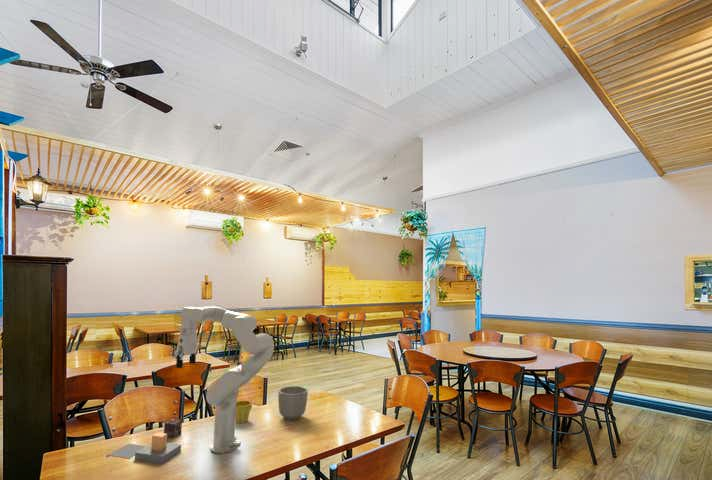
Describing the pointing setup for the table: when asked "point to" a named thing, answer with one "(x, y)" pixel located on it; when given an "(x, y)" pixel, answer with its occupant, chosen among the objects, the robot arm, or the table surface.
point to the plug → (159, 441)
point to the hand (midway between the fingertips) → (185, 365)
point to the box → (173, 428)
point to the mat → (126, 451)
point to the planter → (292, 402)
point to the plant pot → (242, 411)
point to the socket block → (157, 453)
